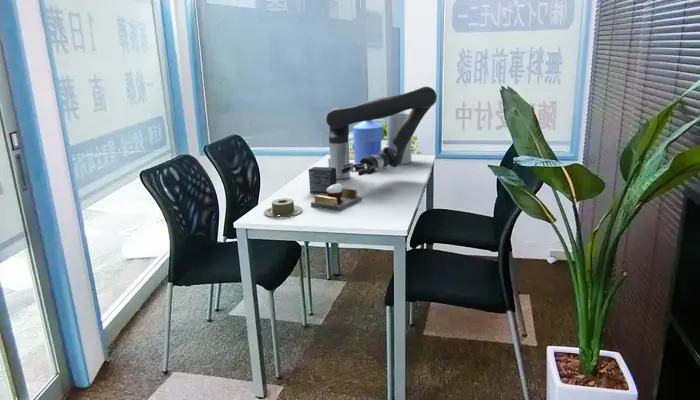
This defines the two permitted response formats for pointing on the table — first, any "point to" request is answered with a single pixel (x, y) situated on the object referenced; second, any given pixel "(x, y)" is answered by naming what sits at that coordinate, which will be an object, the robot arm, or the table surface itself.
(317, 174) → the small box
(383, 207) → the table surface
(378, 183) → the table surface
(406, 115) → the cylinder vase
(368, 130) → the water jug
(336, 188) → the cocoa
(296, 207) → the flange
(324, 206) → the plate
